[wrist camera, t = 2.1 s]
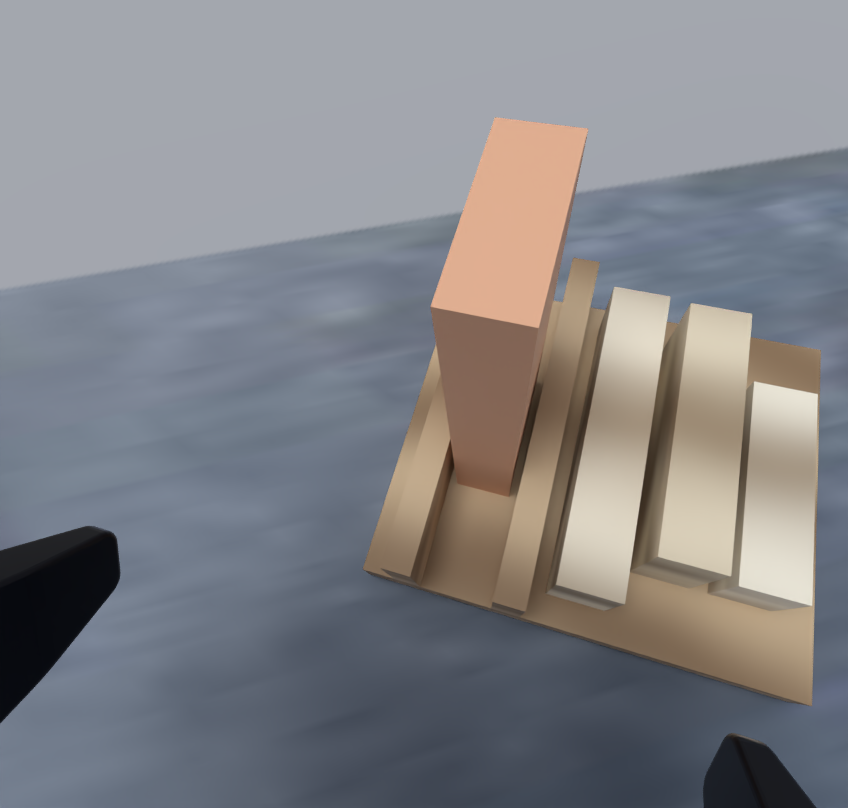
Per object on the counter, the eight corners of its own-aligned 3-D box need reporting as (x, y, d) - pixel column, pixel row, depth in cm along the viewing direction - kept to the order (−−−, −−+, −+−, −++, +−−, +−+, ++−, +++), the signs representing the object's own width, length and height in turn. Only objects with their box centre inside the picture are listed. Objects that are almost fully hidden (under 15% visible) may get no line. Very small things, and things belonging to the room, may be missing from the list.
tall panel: (508, 497, 21) (538, 328, 10) (457, 483, 21) (430, 307, 10) (536, 381, 22) (588, 128, 12) (488, 370, 23) (494, 117, 12)
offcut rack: (787, 701, 18) (887, 719, 14) (370, 574, 21) (340, 554, 17) (800, 367, 23) (878, 299, 19) (457, 301, 26) (452, 228, 22)
